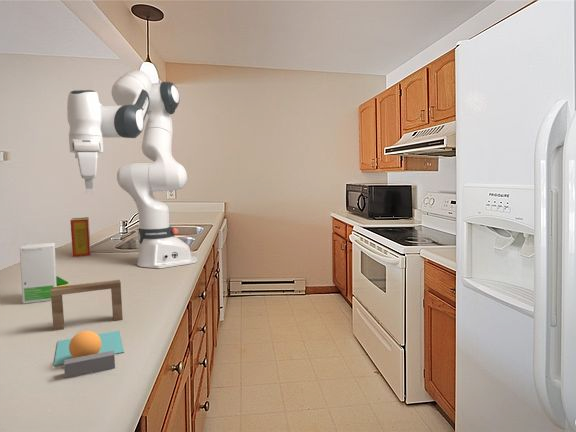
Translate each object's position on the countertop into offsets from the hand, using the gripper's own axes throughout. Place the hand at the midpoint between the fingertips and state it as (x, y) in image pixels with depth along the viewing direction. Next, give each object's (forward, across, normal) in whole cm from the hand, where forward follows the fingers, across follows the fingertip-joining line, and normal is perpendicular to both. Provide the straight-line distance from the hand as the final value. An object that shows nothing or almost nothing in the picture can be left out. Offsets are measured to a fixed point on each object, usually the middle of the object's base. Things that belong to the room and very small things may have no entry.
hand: (89, 194), depth 119 cm
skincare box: (+29, +2, -14) cm, 33 cm away
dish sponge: (+30, -12, -13) cm, 35 cm away
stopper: (+29, +55, -2) cm, 62 cm away
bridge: (+29, +29, -2) cm, 41 cm away
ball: (+26, +50, -3) cm, 56 cm away
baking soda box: (+29, -63, -4) cm, 70 cm away
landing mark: (+29, +44, -2) cm, 53 cm away
